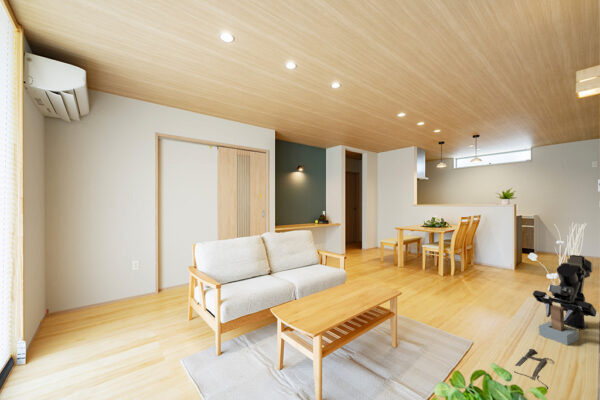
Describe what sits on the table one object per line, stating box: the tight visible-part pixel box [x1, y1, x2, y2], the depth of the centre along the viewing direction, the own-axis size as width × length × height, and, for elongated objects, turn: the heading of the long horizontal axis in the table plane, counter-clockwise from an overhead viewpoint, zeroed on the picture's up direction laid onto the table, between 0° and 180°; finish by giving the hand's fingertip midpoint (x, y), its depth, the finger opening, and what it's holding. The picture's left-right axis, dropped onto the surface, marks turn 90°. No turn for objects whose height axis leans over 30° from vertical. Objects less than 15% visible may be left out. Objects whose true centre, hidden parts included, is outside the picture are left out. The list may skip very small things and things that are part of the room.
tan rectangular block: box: [550, 304, 565, 332], centre depth 108 cm, size 3×3×13 cm
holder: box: [538, 321, 579, 346], centre depth 108 cm, size 9×9×4 cm
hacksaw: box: [513, 348, 554, 390], centre depth 89 cm, size 24×10×2 cm, turn 122°
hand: (555, 319), depth 107 cm, fingers open, 5 cm apart
